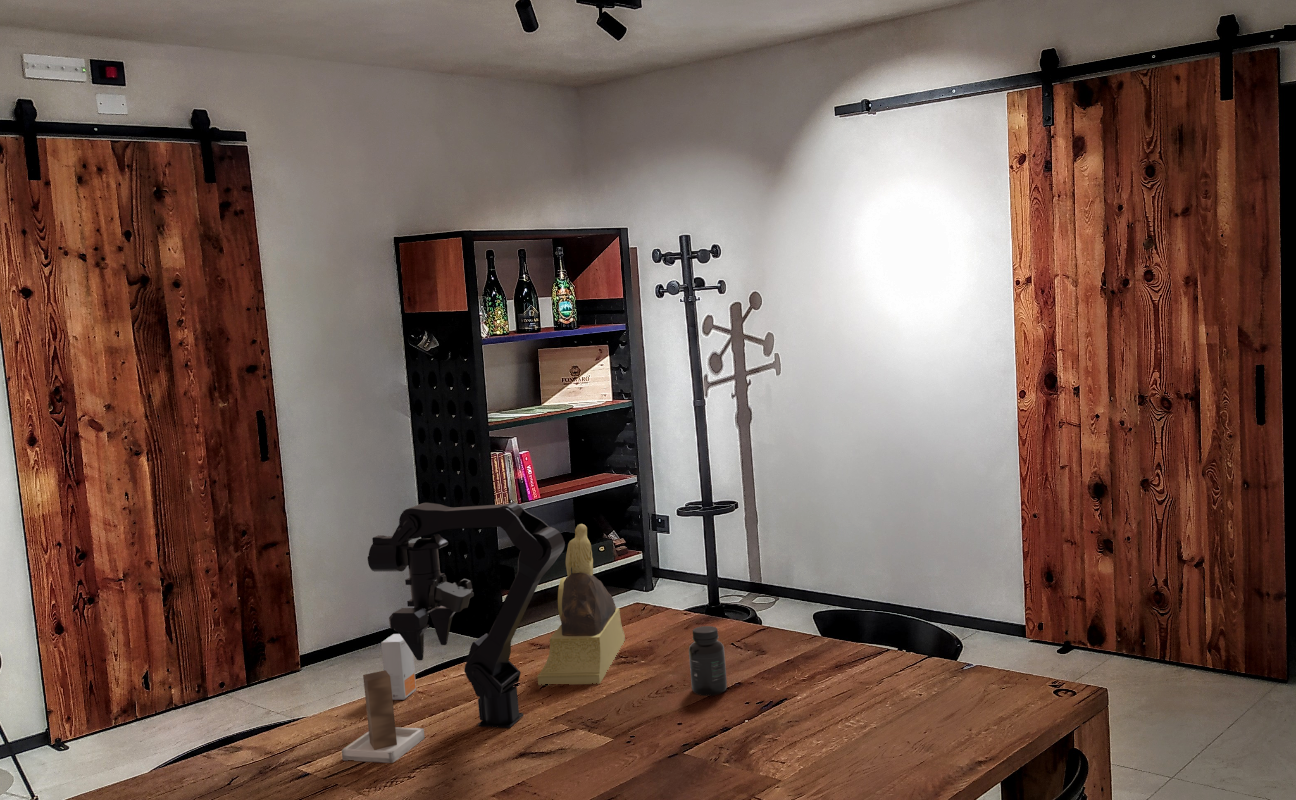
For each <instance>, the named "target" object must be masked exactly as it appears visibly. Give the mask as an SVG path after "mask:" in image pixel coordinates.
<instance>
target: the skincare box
mask: <svg viewBox="0 0 1296 800" xmlns="http://www.w3.org/2000/svg"><path fill="white" fill-rule="evenodd" d="M380 645H381V646H380V647H381V655H382V656H381V657H382V669H383V670H382V671H384V670H386V671H387V673H388V674H389V675H390V679H391V689H392V699H393V701H397V700H398V701H401V700H403V701H404V700H406V699H407V698H408V697H409V696H411V694H413V693H414V692H416V691H417V685H416V684H417V682H416V669H415V659H414V658H415V657H414V654H413V653H412V651H411V650H410V648H409V646H408V645H407V643H406V642H405V640H404V639H403V638H402V637H401V635H400V634H399V633H393V634H391V635H390V636H388V637H387V638H386V639H384V640H383V641H381V642H380Z"/></svg>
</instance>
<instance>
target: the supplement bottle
mask: <svg viewBox="0 0 1296 800" xmlns="http://www.w3.org/2000/svg"><path fill="white" fill-rule="evenodd" d="M718 639H719V634H718V627H716V626H711V625H705V626H703V625H702V626H697V627H694V628H693V630H692V640H693V642H692V643H691V644H690V645H689V647H688V657H689V658H688V659H689V669H690V670H689V671H690V682H691V683H690V684H691V690H692V692H693V693H694V694H696V695H699V696H706V697H707V696H709V697H710V696H716V695H717V696H718V695H720V694H723V693H725V691H726V690H727V688H728V680H727V668H726V667H727V666H726V656H725V655H726V654H725V646H724V644H723V643H722V642H721V641H720V640H718Z"/></svg>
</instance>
